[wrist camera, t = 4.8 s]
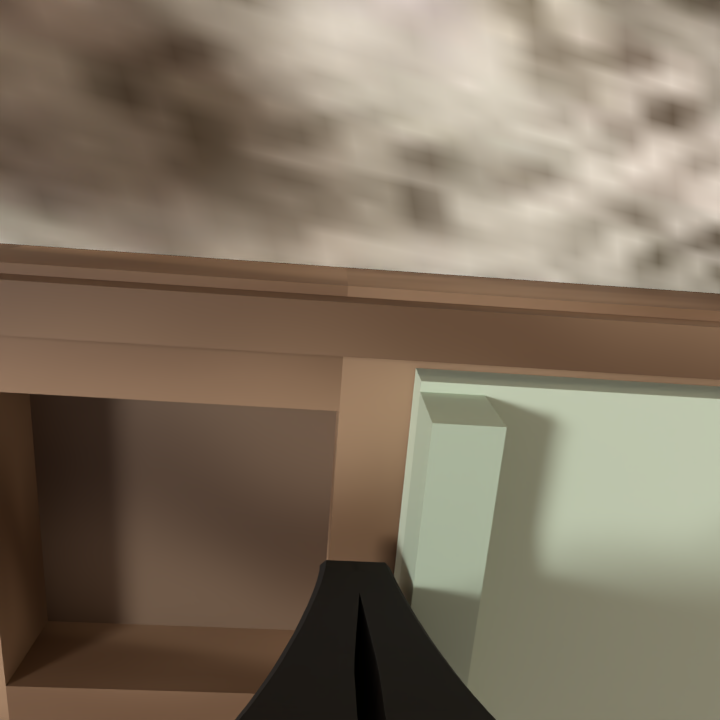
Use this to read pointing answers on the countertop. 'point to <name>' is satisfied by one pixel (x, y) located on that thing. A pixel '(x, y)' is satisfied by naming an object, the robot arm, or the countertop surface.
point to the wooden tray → (241, 449)
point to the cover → (567, 542)
